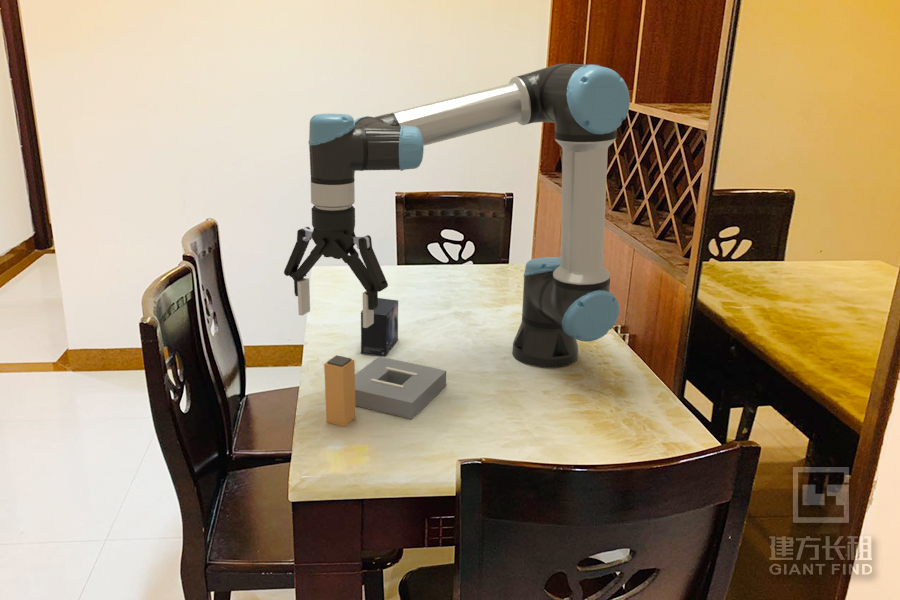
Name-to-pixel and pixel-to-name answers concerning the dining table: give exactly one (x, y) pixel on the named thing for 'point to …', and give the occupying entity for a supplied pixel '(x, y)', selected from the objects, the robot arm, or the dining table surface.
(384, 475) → the dining table surface
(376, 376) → the socket
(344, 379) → the plug
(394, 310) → the small box
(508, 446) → the dining table surface
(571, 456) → the dining table surface
